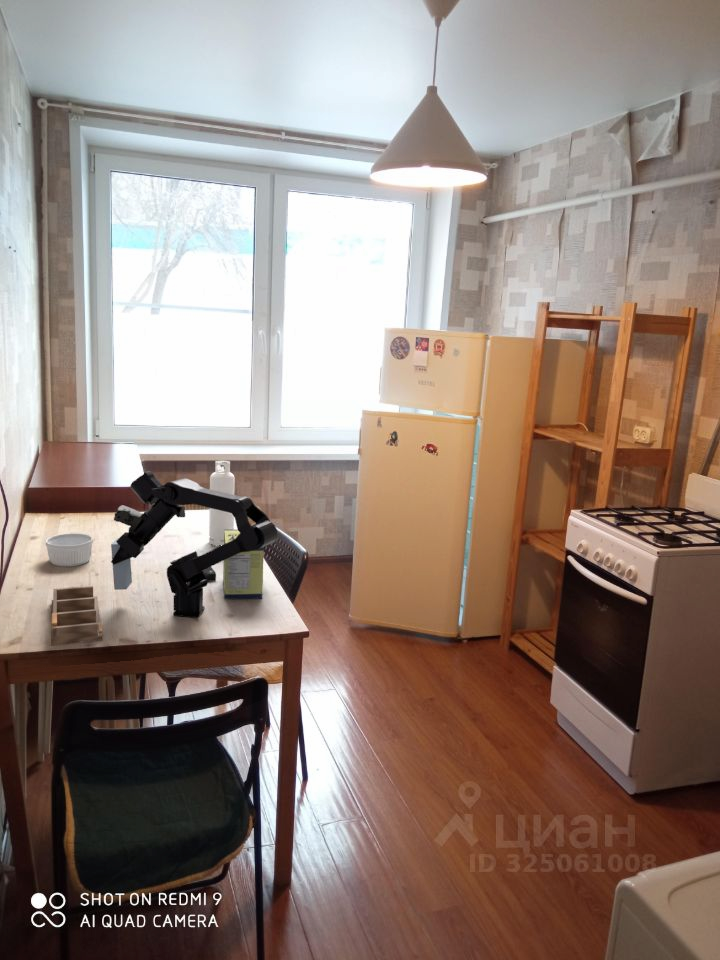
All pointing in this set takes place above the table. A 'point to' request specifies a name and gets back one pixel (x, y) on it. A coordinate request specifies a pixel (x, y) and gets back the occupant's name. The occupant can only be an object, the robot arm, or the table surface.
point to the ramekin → (69, 549)
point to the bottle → (219, 519)
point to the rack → (75, 616)
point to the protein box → (242, 572)
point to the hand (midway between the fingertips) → (115, 559)
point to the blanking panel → (121, 570)
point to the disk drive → (209, 574)
